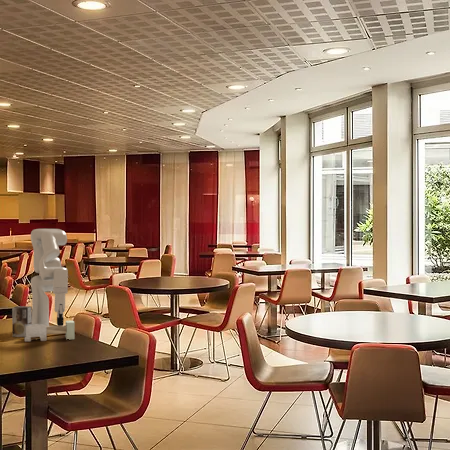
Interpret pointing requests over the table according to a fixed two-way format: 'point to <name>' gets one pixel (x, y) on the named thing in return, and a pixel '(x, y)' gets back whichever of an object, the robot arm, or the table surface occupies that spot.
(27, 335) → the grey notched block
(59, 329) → the inner bar
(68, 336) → the socket block
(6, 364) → the table surface
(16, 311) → the coffee box
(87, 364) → the table surface
